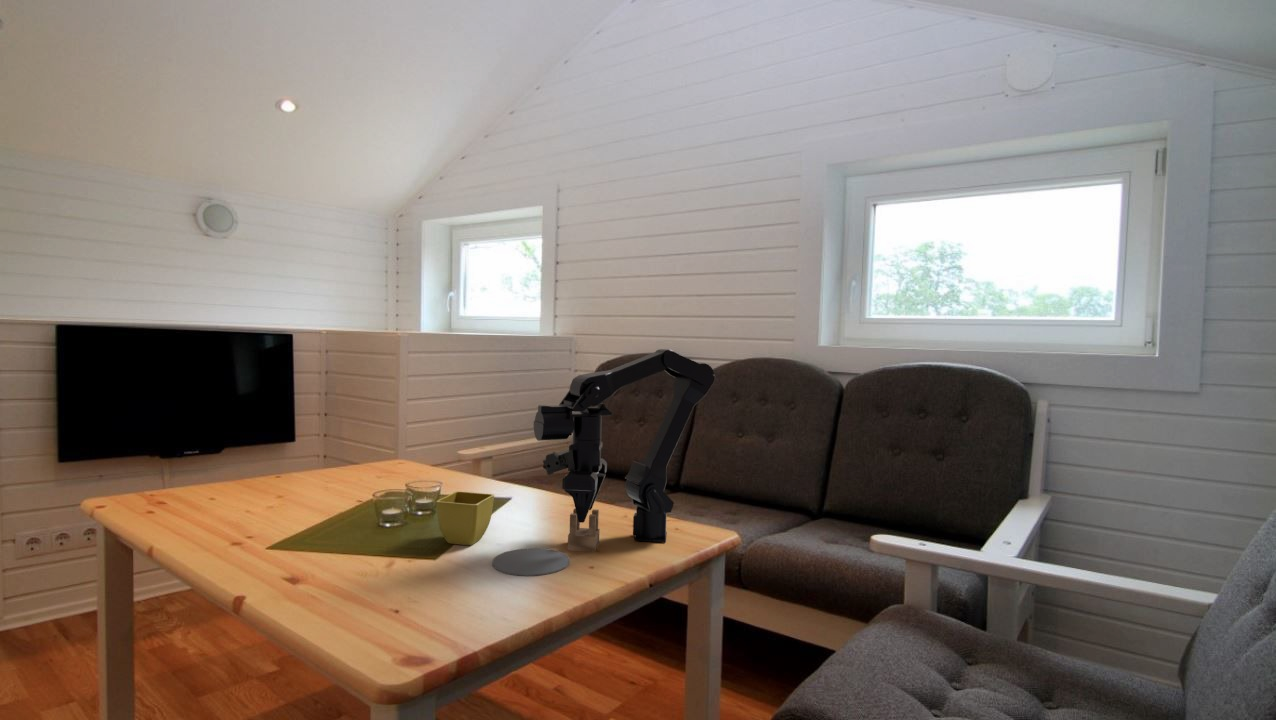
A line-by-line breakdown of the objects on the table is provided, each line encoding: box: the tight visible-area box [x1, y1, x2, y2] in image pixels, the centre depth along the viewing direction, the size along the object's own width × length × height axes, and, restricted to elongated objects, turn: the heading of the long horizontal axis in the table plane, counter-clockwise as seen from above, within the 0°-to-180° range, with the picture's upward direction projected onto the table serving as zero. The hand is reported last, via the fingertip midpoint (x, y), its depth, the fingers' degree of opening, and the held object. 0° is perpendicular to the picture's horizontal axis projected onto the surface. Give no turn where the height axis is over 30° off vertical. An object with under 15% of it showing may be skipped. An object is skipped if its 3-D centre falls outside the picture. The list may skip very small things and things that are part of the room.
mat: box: [492, 547, 570, 577], centre depth 123 cm, size 14×14×1 cm
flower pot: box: [435, 490, 495, 546], centre depth 134 cm, size 9×9×9 cm
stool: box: [567, 508, 601, 552], centre depth 134 cm, size 6×6×7 cm
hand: (585, 515), depth 134 cm, fingers open, 9 cm apart
